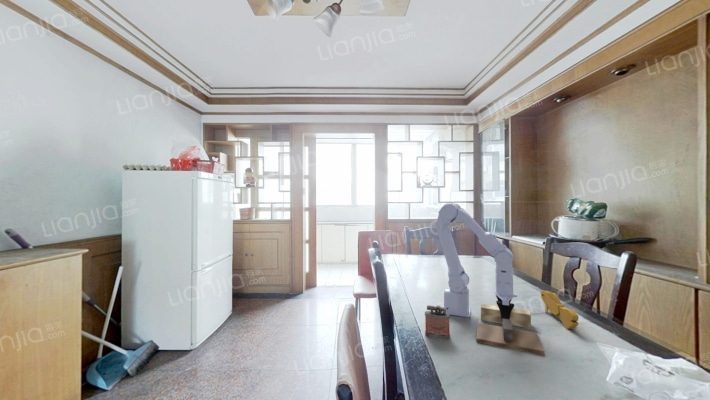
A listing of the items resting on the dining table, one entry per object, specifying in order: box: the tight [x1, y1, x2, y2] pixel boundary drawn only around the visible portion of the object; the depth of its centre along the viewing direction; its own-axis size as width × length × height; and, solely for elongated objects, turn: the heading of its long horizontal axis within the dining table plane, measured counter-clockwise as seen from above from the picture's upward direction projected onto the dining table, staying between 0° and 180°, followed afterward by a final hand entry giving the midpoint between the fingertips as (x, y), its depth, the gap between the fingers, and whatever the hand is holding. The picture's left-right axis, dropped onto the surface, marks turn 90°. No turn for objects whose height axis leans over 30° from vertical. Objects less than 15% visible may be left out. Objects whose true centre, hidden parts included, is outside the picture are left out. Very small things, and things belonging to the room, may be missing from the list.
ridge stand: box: [476, 318, 545, 356], centre depth 89 cm, size 18×12×5 cm, turn 64°
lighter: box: [424, 305, 451, 340], centre depth 92 cm, size 8×3×10 cm, turn 71°
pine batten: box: [480, 303, 532, 329], centre depth 101 cm, size 16×4×5 cm, turn 64°
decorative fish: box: [540, 290, 580, 330], centre depth 103 cm, size 22×3×10 cm, turn 169°
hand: (504, 317), depth 101 cm, fingers open, 6 cm apart
